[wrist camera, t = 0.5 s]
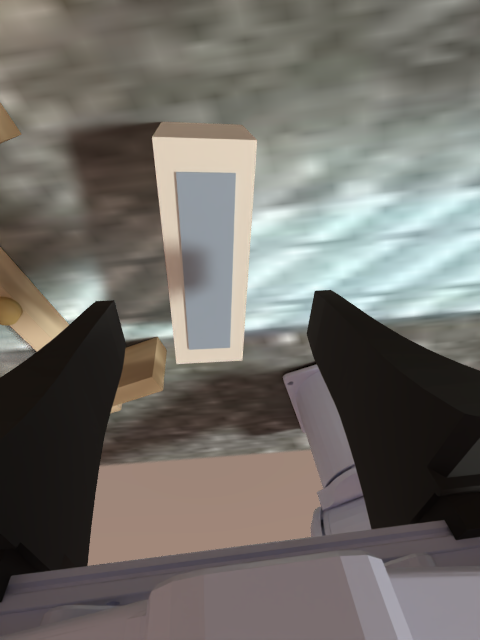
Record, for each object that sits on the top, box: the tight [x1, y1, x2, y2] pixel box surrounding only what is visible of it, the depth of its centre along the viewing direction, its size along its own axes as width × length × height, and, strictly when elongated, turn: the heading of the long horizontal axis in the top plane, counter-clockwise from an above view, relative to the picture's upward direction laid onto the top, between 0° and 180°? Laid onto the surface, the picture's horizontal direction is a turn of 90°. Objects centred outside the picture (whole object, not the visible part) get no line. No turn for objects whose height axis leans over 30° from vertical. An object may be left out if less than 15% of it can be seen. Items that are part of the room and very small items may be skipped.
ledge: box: [0, 103, 167, 413], centre depth 18 cm, size 22×6×4 cm, turn 18°
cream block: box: [152, 122, 257, 364], centre depth 18 cm, size 12×4×5 cm, turn 178°
